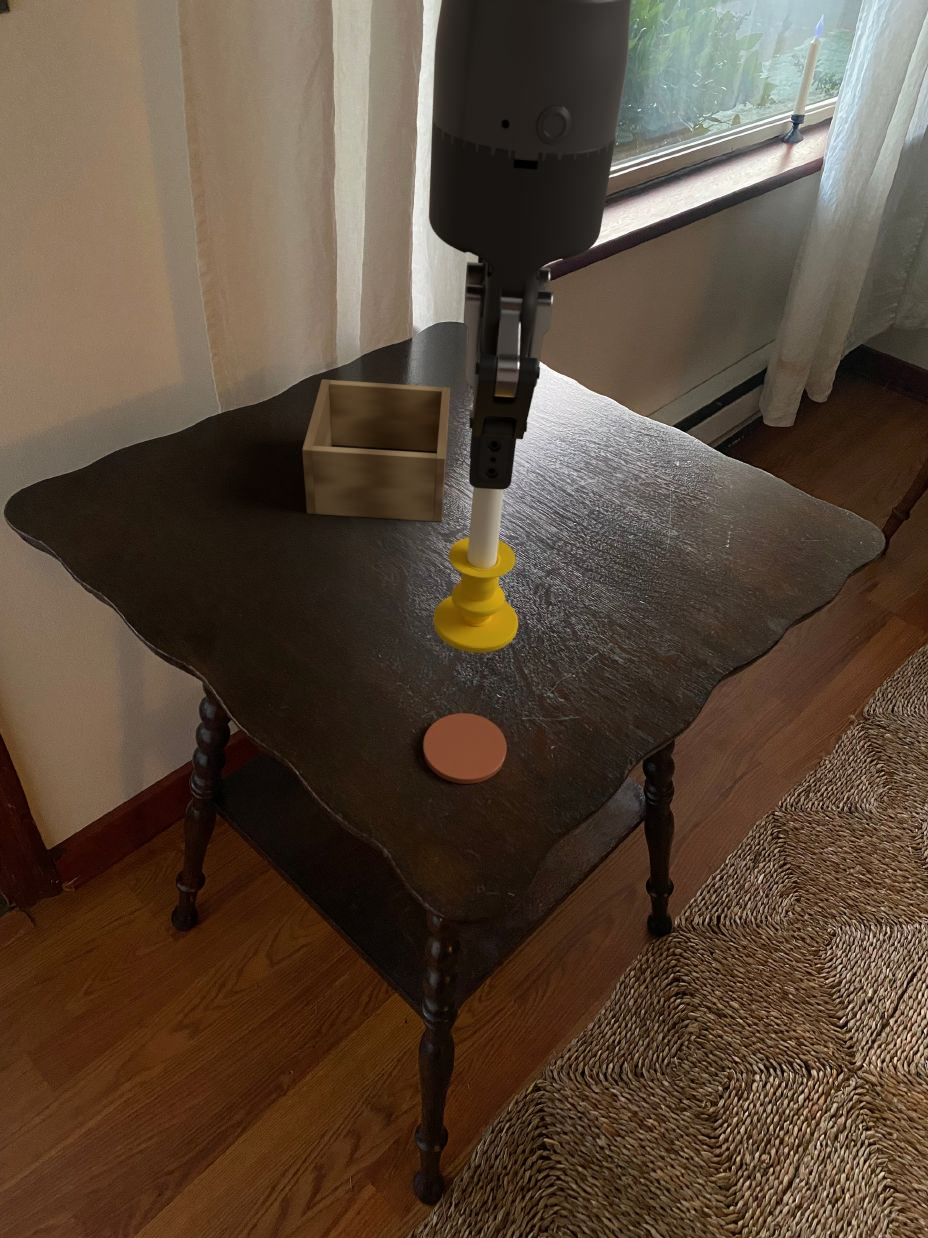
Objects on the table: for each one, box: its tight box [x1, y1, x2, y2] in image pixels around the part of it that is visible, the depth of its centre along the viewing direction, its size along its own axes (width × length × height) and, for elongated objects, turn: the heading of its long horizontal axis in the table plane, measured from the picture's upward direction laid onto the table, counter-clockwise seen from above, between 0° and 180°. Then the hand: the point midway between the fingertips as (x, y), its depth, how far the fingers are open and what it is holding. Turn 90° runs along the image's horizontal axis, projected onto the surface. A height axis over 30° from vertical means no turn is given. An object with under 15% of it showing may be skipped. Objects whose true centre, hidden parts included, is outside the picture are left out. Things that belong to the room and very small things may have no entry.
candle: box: [433, 487, 519, 654], centre depth 50 cm, size 5×5×16 cm
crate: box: [301, 379, 451, 523], centre depth 86 cm, size 13×13×7 cm
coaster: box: [422, 712, 508, 785], centre depth 64 cm, size 6×6×1 cm
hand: (489, 472), depth 48 cm, fingers closed on candle
